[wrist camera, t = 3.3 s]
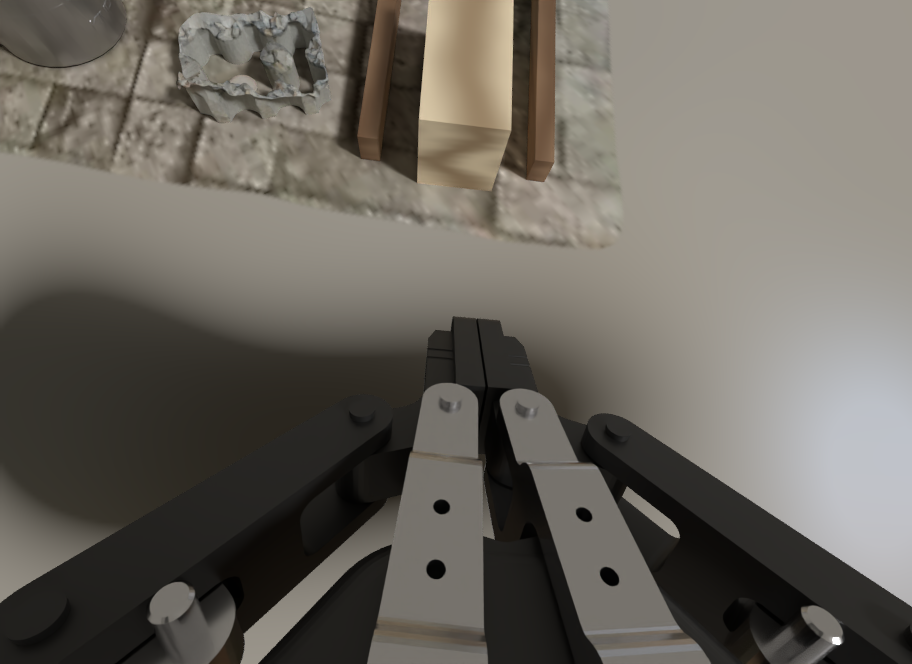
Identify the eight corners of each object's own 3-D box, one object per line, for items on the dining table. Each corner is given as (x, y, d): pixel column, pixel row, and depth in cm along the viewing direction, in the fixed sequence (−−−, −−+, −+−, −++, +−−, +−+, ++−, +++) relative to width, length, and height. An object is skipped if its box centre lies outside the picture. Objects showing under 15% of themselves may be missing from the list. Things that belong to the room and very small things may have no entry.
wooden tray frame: (361, 158, 32) (356, 131, 30) (390, -41, 38) (388, -80, 35) (543, 181, 34) (556, 158, 31) (546, -14, 39) (557, -50, 36)
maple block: (417, 184, 33) (418, 119, 26) (427, 63, 36) (430, -23, 29) (490, 192, 33) (511, 130, 26) (494, 72, 36) (513, -10, 29)
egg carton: (197, 130, 32) (167, 87, 28) (195, 52, 34) (165, 1, 30) (336, 120, 33) (325, 78, 29) (327, 46, 35) (316, -3, 31)
